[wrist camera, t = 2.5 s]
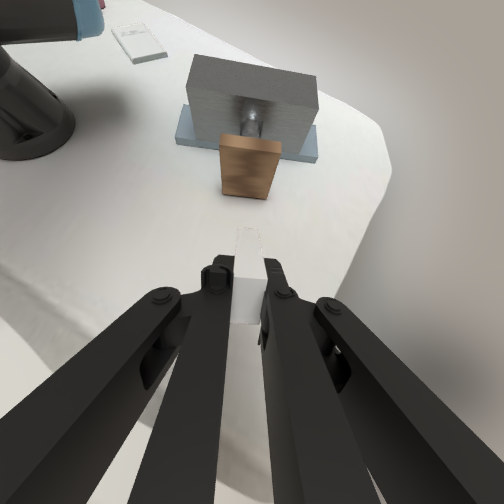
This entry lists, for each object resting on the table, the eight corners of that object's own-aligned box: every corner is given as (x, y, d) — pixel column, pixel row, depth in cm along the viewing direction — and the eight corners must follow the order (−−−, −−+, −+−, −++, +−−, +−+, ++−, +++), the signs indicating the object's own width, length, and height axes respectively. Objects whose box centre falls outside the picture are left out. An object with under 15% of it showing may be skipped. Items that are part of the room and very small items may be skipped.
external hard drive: (135, 68, 41) (113, 36, 43) (168, 60, 43) (146, 31, 46) (131, 58, 39) (109, 26, 42) (166, 51, 42) (144, 21, 44)
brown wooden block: (222, 193, 32) (218, 144, 22) (228, 145, 35) (228, 85, 26) (266, 199, 33) (281, 153, 23) (268, 150, 36) (281, 94, 27)
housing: (177, 144, 35) (156, 82, 25) (185, 111, 38) (169, 45, 28) (314, 163, 37) (343, 113, 28) (312, 131, 40) (337, 76, 31)
